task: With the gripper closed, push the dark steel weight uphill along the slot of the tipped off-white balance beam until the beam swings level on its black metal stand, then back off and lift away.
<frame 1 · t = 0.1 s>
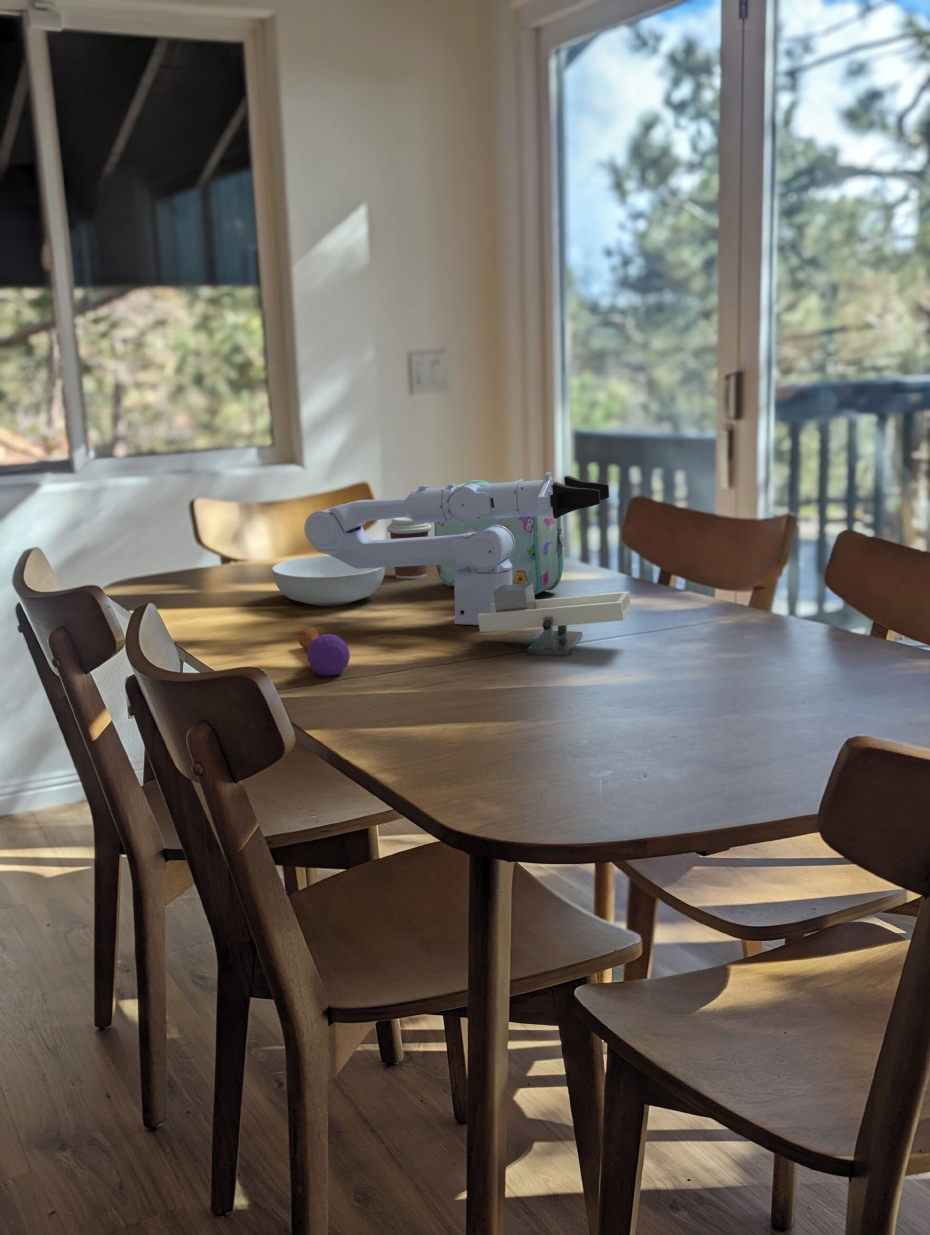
hand: (604, 493, 181), 22 cm above the table, tool horizontal, fingers open, 7 cm apart
serving bowl: (330, 602, 212), on the table
balance beam: (554, 611, 173), point 5 cm above the table, hinge at -7.1°, touching steel weight
lunch box: (501, 591, 216), on the table
coffee cup: (411, 577, 233), on the table
kendama: (320, 664, 169), on the table
steel weight: (517, 616, 175), point 4 cm above the table, tilted 7°, touching balance beam
beam stand: (555, 645, 175), on the table
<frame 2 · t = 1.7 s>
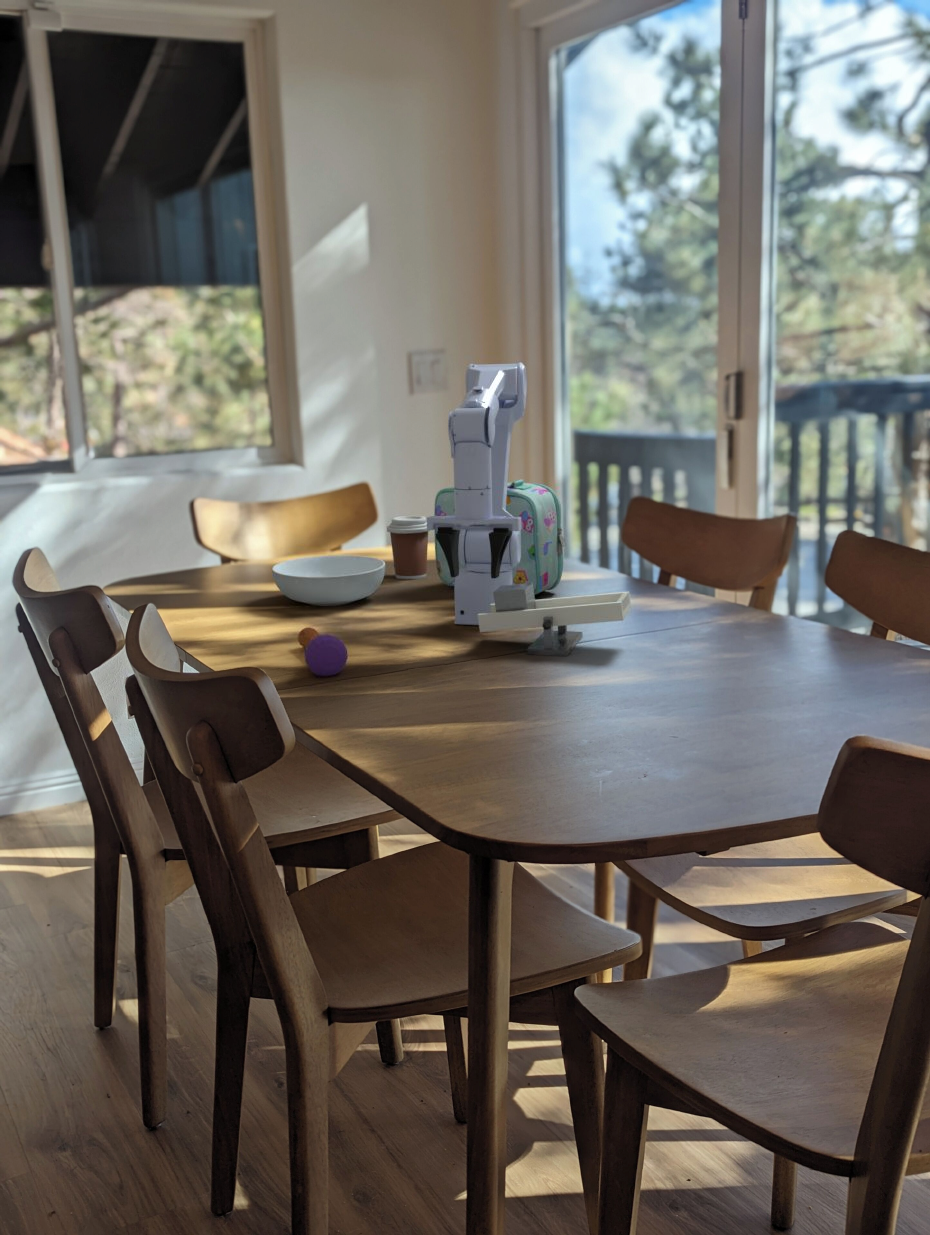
hand: (474, 576, 175), 10 cm above the table, tool pointing down, fingers open, 6 cm apart
balance beam: (554, 611, 173), point 5 cm above the table, hinge at -7.1°
steel weight: (517, 616, 175), point 4 cm above the table, tilted 7°
everything else where it was.
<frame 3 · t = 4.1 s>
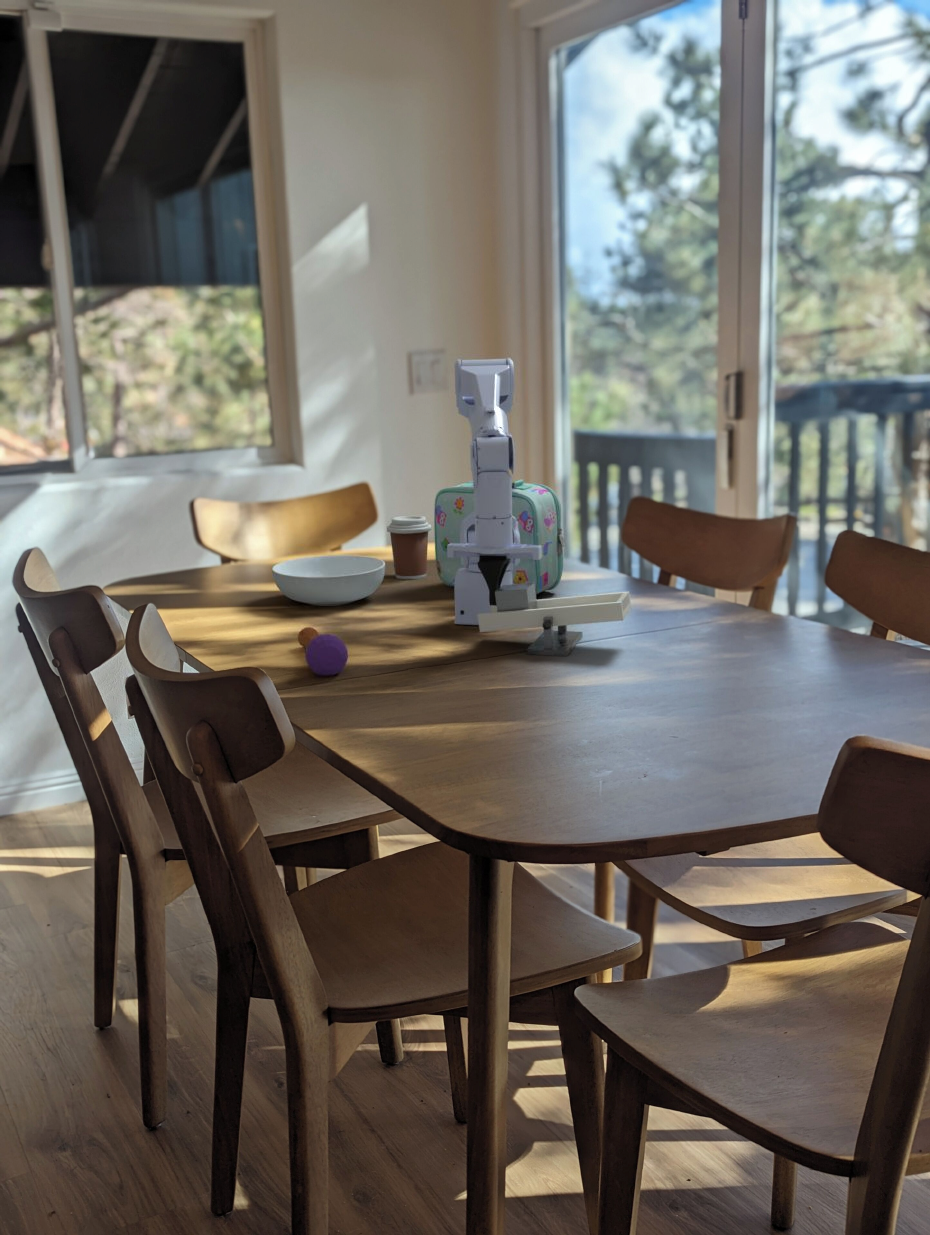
hand: (495, 604, 176), 6 cm above the table, tool pointing down, fingers closed
steel weight: (518, 615, 175), point 4 cm above the table, tilted 6°, touching gripper
everything else where it was.
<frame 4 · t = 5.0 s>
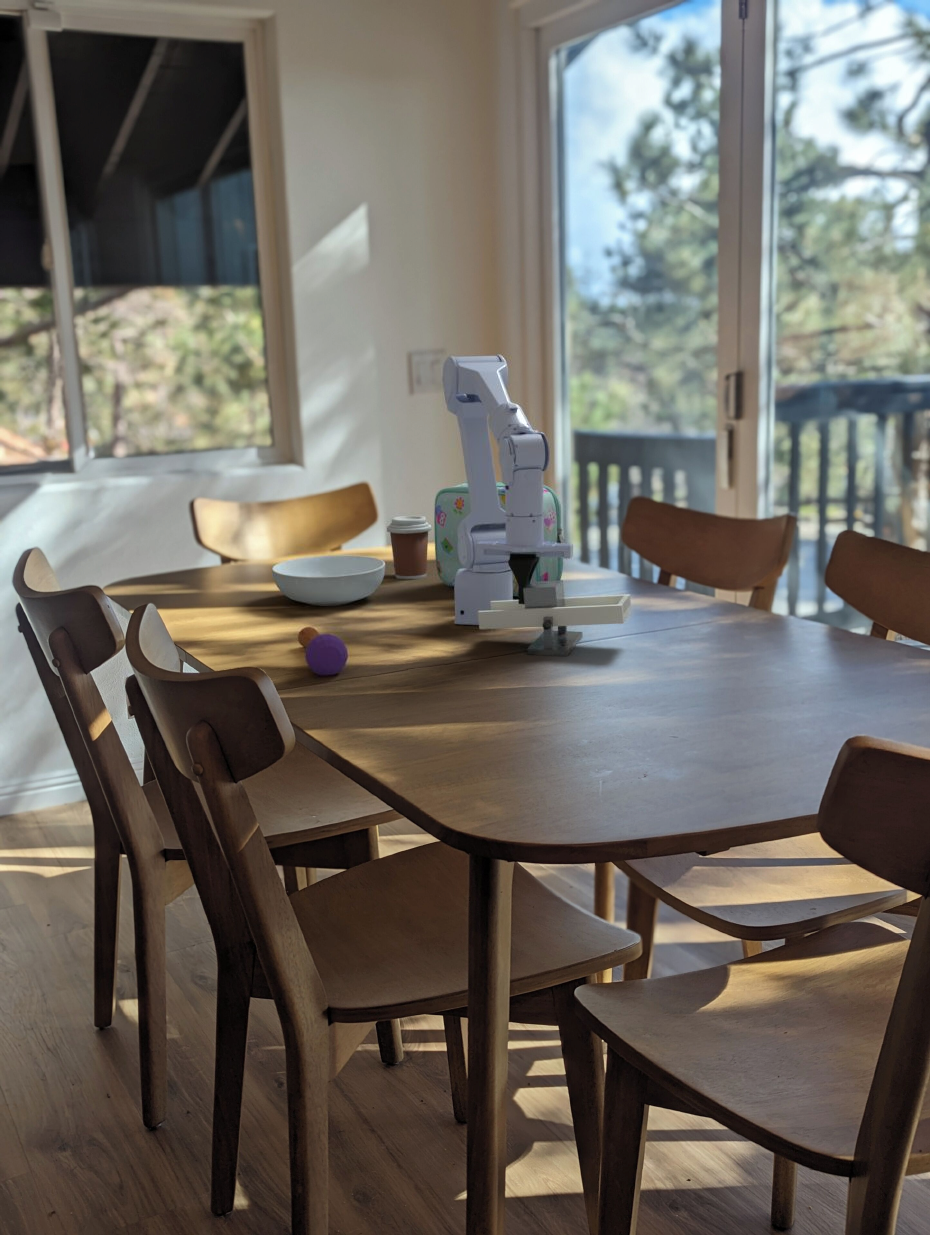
hand: (525, 603, 174), 6 cm above the table, tool pointing down, fingers closed, pressing on steel weight
balance beam: (554, 611, 173), point 5 cm above the table, hinge at -4.7°, touching steel weight
steel weight: (545, 613, 174), point 5 cm above the table, touching balance beam, gripper
everything else where it was.
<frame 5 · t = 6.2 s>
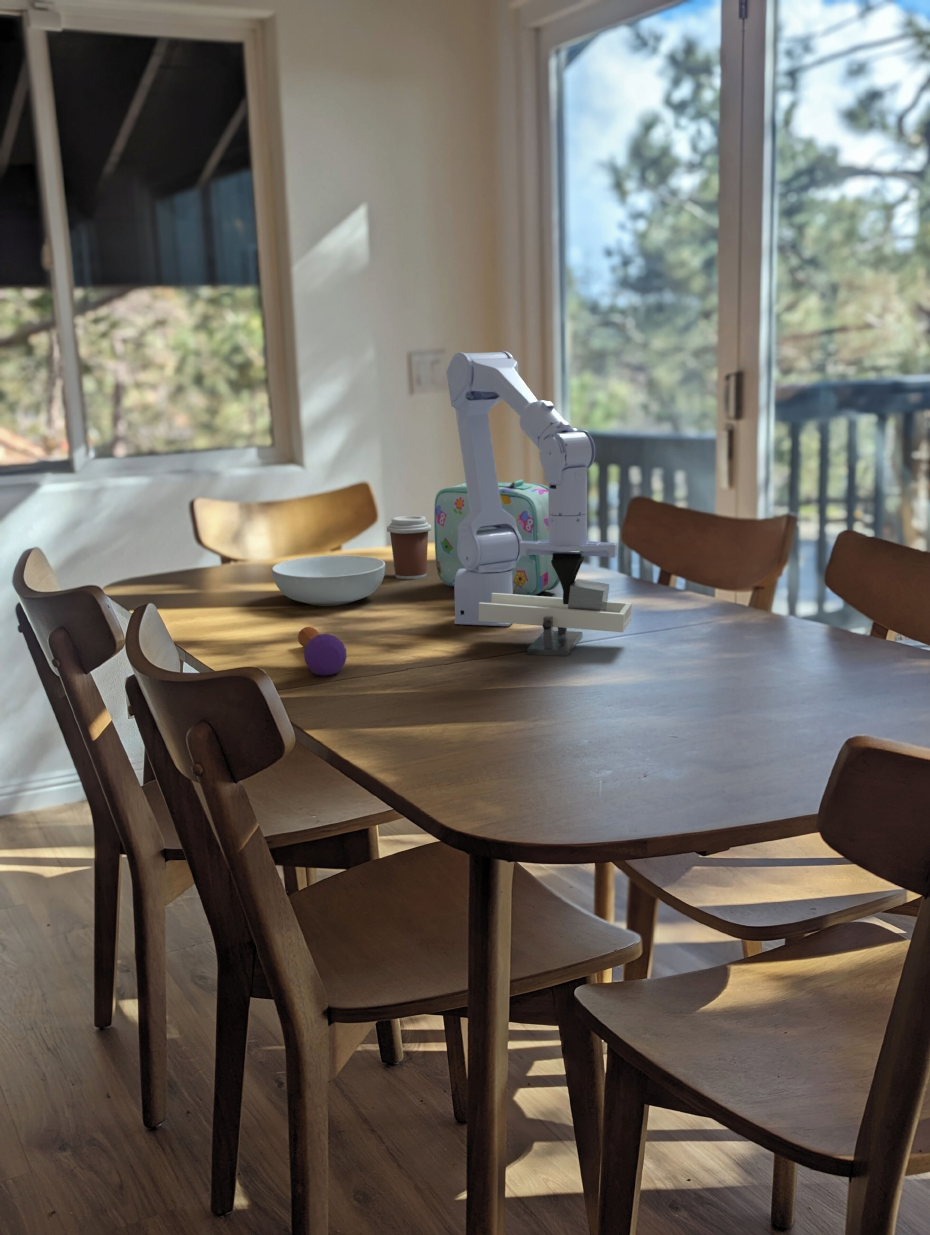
hand: (568, 603, 173), 7 cm above the table, tool pointing down, fingers closed, pressing on steel weight
balance beam: (555, 611, 173), point 5 cm above the table, hinge at 2.3°, touching steel weight
steel weight: (586, 613, 172), point 5 cm above the table, tilted 7°, touching balance beam, gripper
everything else where it was.
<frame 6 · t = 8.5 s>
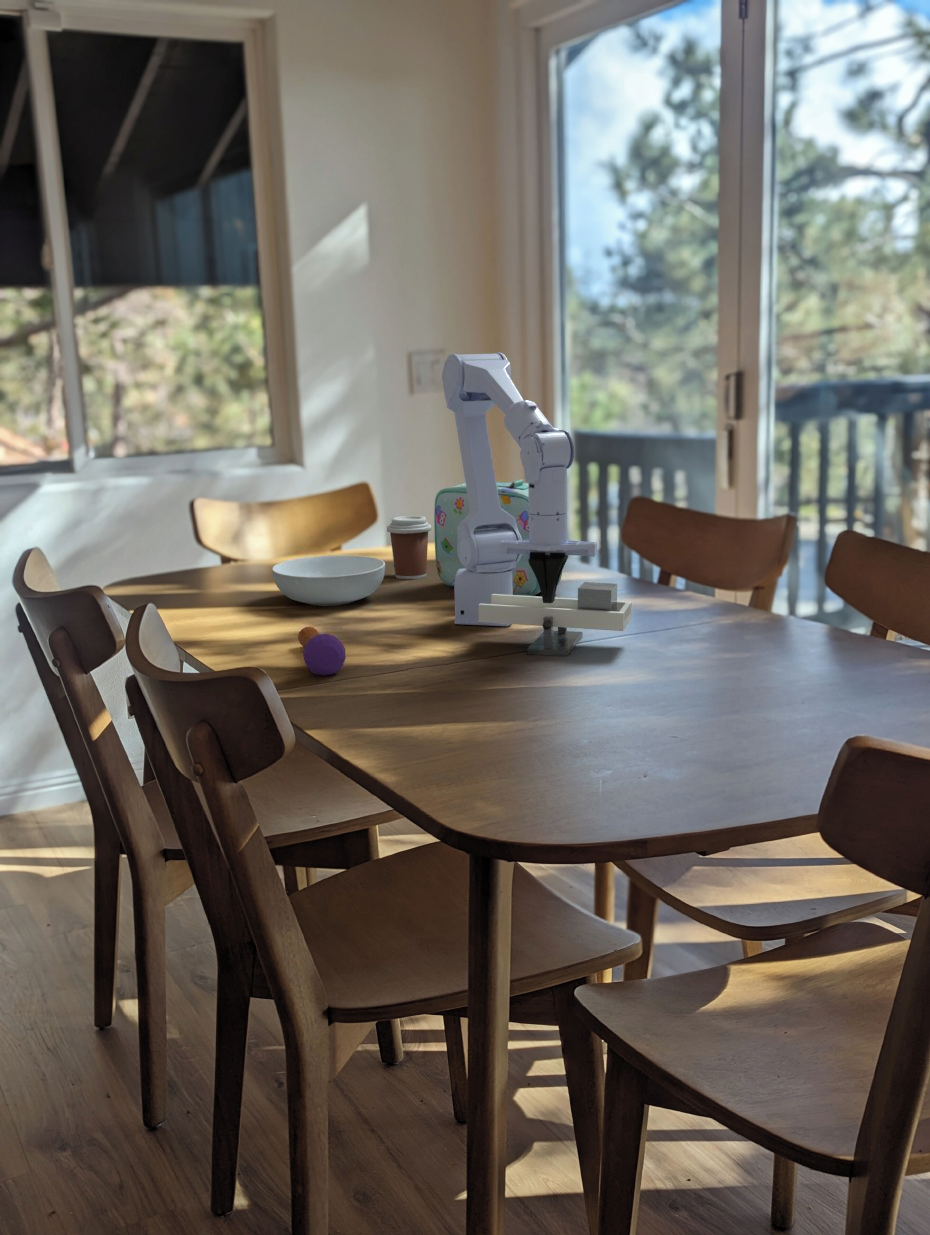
hand: (548, 601, 173), 7 cm above the table, tool pointing down, fingers closed
balance beam: (555, 611, 173), point 5 cm above the table, hinge at 1.3°, touching steel weight
steel weight: (597, 615, 172), point 5 cm above the table, touching balance beam
everything else where it was.
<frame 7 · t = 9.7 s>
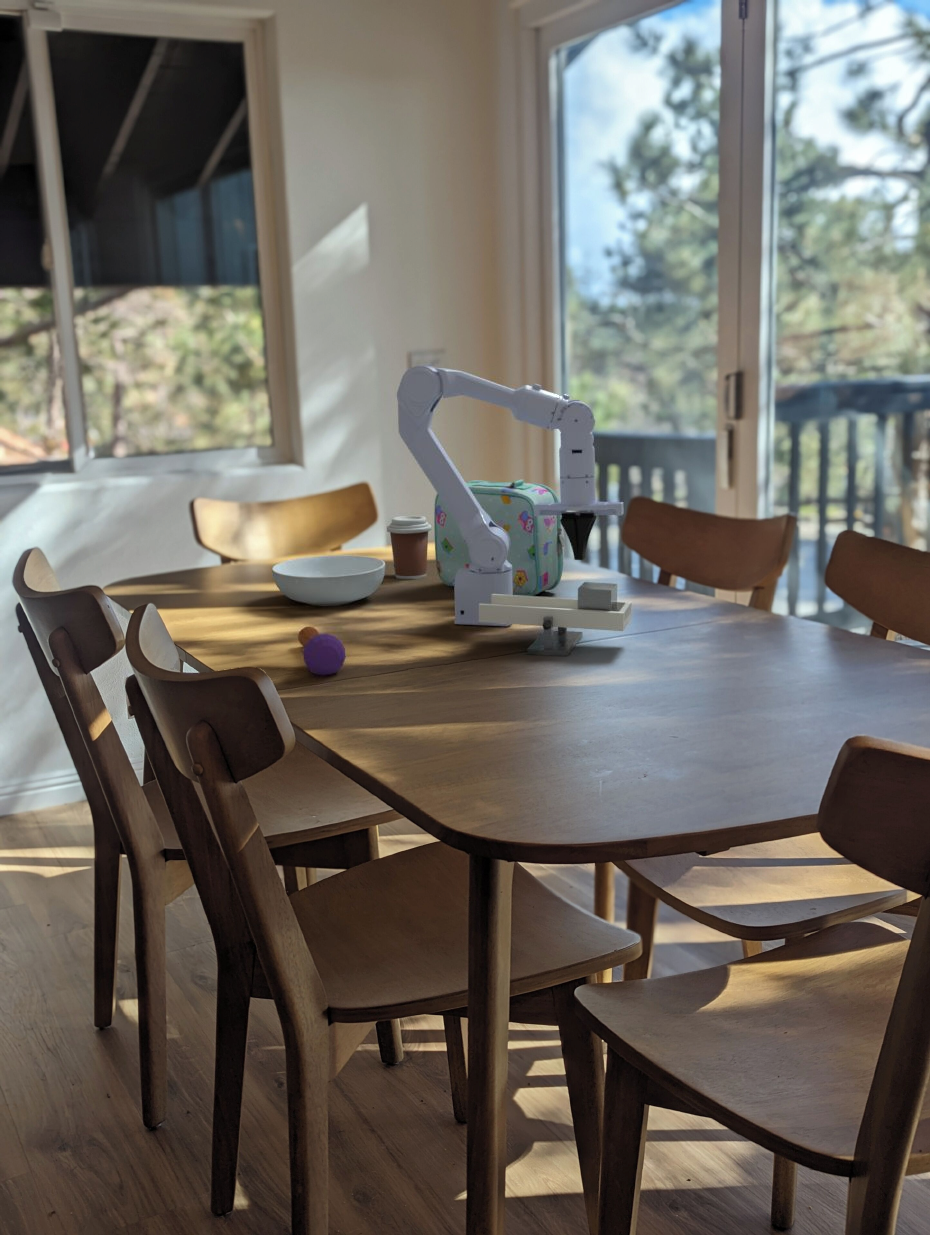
hand: (579, 559, 188), 10 cm above the table, tool pointing down, fingers closed
nothing on the table moved.
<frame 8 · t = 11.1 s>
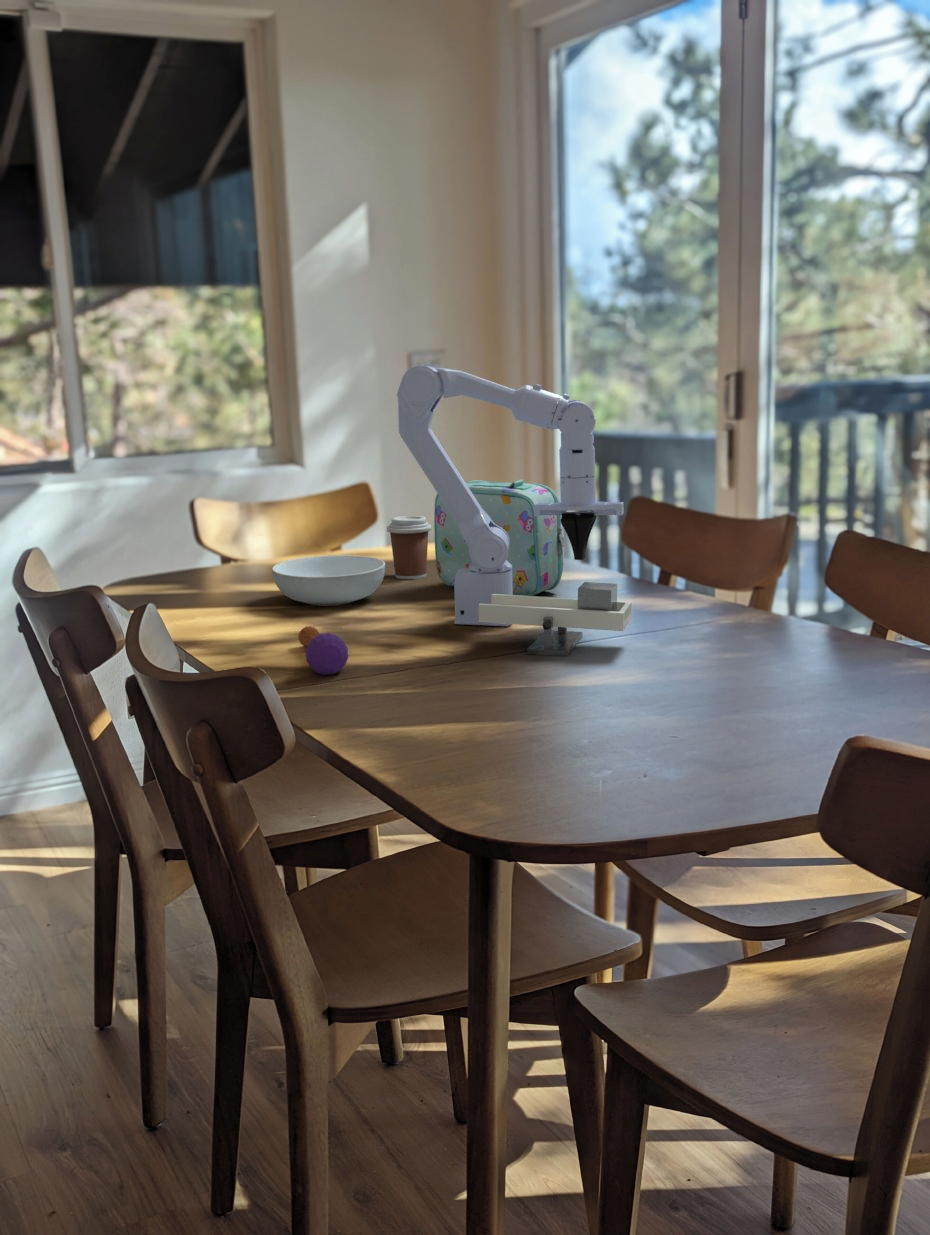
hand: (579, 558, 188), 10 cm above the table, tool pointing down, fingers closed
nothing on the table moved.
at the end: balance beam at +1° (first picture: -7°); steel weight 0.1 cm from the target spot on the balance beam, point 0.5 cm above the balance beam's base; the gripper is holding nothing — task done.
